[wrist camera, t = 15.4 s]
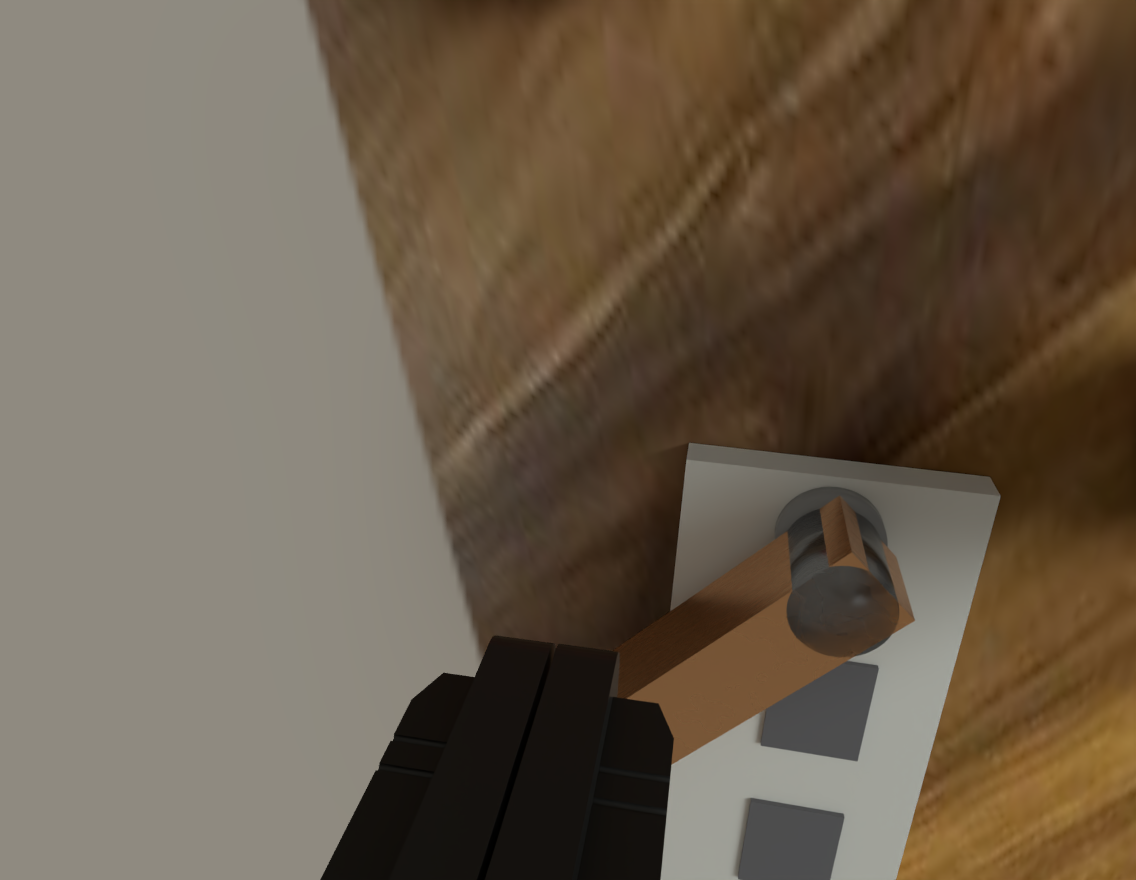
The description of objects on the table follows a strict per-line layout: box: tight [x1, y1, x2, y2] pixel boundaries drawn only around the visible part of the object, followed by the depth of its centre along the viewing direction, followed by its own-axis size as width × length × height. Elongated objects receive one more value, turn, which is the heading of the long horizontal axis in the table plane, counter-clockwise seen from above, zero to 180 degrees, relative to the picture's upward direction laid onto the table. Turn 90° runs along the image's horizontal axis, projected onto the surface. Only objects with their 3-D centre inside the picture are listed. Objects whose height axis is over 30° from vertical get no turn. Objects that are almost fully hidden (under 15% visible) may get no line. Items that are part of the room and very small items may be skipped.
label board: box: [661, 443, 1001, 880], centre depth 47 cm, size 14×28×3 cm, turn 177°
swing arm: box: [613, 495, 915, 765], centre depth 42 cm, size 4×26×5 cm, turn 134°
